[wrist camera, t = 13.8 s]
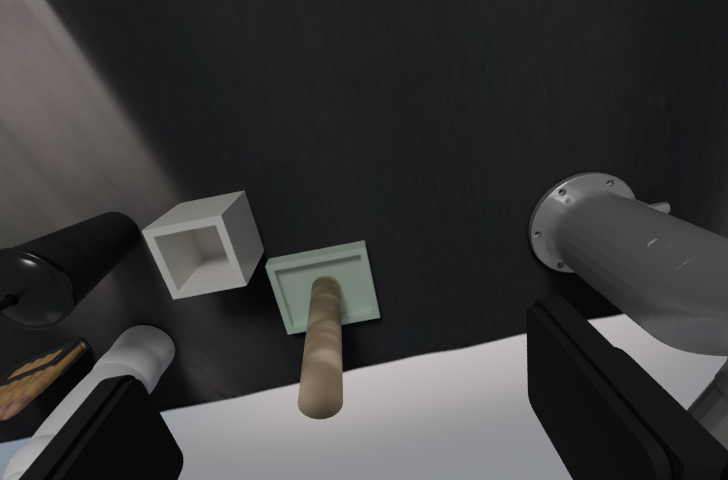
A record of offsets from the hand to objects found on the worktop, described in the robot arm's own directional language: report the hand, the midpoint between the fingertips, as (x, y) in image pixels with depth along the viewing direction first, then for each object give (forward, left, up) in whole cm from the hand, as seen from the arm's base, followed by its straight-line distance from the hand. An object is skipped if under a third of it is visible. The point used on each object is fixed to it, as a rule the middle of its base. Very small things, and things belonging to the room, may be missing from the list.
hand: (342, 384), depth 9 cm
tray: (+6, +16, -34) cm, 38 cm away
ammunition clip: (+44, +19, -35) cm, 59 cm away
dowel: (+6, +16, -34) cm, 38 cm away
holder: (+16, +6, -34) cm, 38 cm away
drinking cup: (+28, +4, -34) cm, 45 cm away
